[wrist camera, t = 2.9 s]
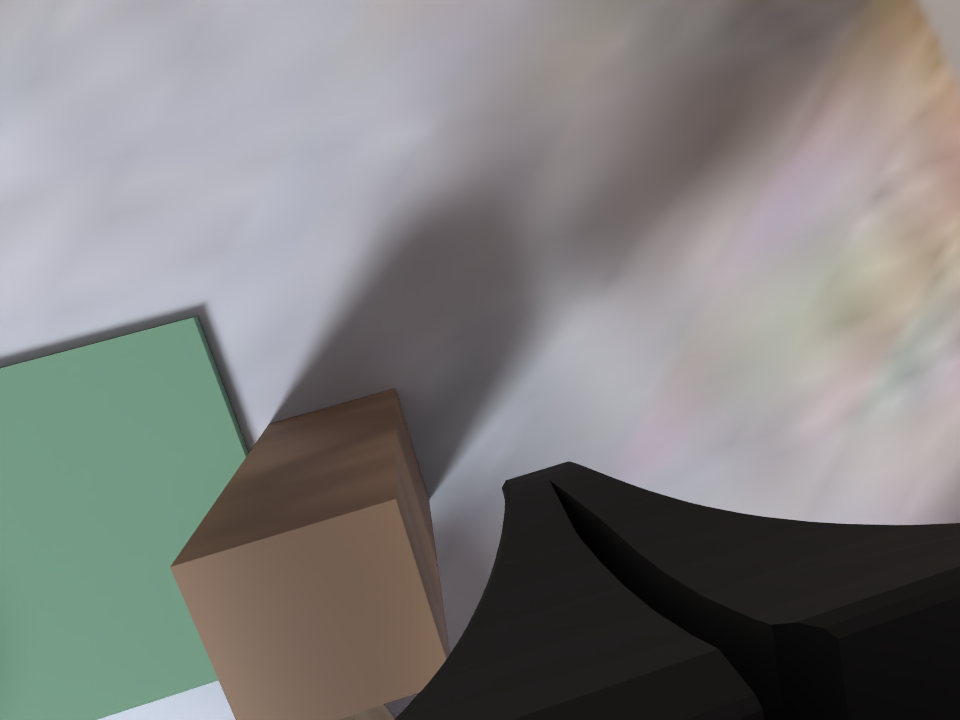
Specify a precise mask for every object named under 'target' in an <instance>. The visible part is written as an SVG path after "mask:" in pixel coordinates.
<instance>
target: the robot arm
mask: <svg viewBox="0 0 960 720" xmlns="http://www.w3.org/2000/svg"><path fill="white" fill-rule="evenodd" d="M502 490H503V494H504V498H505V514H504V521H503V529H502V535H501V540H500V544H499V547H498V551H497V555H496V559H495V563H494V566H493V569H492V572H491V575H490V578H489V581H488V583H487V586H486V588H485V591H484V593H483V595H482V598H481V600H480V602H479V604H478V606H477V608H476V610H475V612H474V614H473V616H472V618H471V620H470V622H469V624H468V626H467V628H466V630H465V631H464V633H463V635H462V637H461V638H460V640H459V641H458V643H457V645H456V646H455V648H454V649H453V650H452V652H451V653H450V655H449V656H448V658H447V659H446V661H445V662H444V663H443V665H442V666H441V667H440V669H439V670H438V671H437V673H436V674H435V675H434V676H433V678H432V679H431V680H430V681H429V683H428V684H427V685H426V686H425V687H424V688H423V690H422V691H421V692H420V693H419V694H418V695H417V696H416V697H415V698H414V699H413V700H412V702H411V703H410V704H409V705H408V706H407V707H406V708H405V709H404V710H403V711H402V712H401V714H400V715H399V716H398V717H397V718H396V719H395V720H960V523H955V524H929V525H863V524H836V523H820V522H807V521H797V520H788V519H779V518H769V517H762V516H755V515H748V514H742V513H736V512H731V511H726V510H721V509H716V508H711V507H706V506H702V505H697V504H693V503H689V502H685V501H682V500H678V499H675V498H671V497H668V496H664V495H661V494H658V493H654V492H651V491H648V490H645V489H642V488H639V487H637V486H634V485H631V484H628V483H625V482H623V481H620V480H617V479H615V478H612V477H609V476H607V475H604V474H602V473H599V472H597V471H594V470H592V469H589V468H587V467H584V466H581V465H579V464H576V463H573V462H565V463H562V464H559V465H555V466H552V467H549V468H546V469H542V470H539V471H536V472H532V473H529V474H526V475H522V476H519V477H516V478H513V479H509V480H506V482H505V483H504V485H503V487H502Z"/></svg>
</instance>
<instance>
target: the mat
mask: <svg viewBox="0 0 960 720" xmlns="http://www.w3.org/2000/svg"><path fill="white" fill-rule="evenodd" d="M248 454H249V453H248V450H247V447H246V445H245V442H244V439H243V437H242V434H241V431H240V429H239V426H238V423H237V421H236V418H235V415H234V413H233V410H232V407H231V405H230V402H229V399H228V397H227V394H226V391H225V389H224V386H223V383H222V381H221V378H220V375H219V373H218V370H217V367H216V365H215V362H214V359H213V357H212V354H211V351H210V349H209V346H208V343H207V341H206V338H205V336H204V333H203V330H202V328H201V325H200V322H199V320H198V317H197V316H196V317H192V318H188V319H184V320H181V321H177V322H173V323H169V324H165V325H162V326H158V327H154V328H150V329H147V330H143V331H139V332H135V333H131V334H128V335H124V336H120V337H116V338H112V339H109V340H105V341H101V342H97V343H94V344H90V345H86V346H82V347H78V348H75V349H71V350H67V351H63V352H59V353H56V354H52V355H48V356H44V357H41V358H37V359H33V360H29V361H25V362H22V363H18V364H14V365H10V366H6V367H3V368H0V720H97V719H100V718H103V717H106V716H109V715H113V714H116V713H119V712H122V711H125V710H128V709H131V708H134V707H137V706H140V705H144V704H147V703H150V702H153V701H156V700H159V699H162V698H165V697H168V696H171V695H174V694H178V693H181V692H184V691H187V690H190V689H193V688H196V687H199V686H202V685H205V684H209V683H212V682H215V681H218V677H217V675H216V673H215V670H214V668H213V666H212V663H211V661H210V659H209V656H208V654H207V652H206V649H205V647H204V645H203V643H202V640H201V638H200V636H199V633H198V631H197V629H196V626H195V624H194V622H193V619H192V617H191V615H190V612H189V610H188V608H187V605H186V603H185V601H184V598H183V596H182V594H181V591H180V589H179V587H178V585H177V582H176V580H175V578H174V575H173V573H172V571H171V568H170V566H171V565H172V563H173V562H174V560H175V559H176V558H177V556H178V555H179V553H180V552H181V550H182V549H183V547H184V546H185V545H186V543H187V542H188V540H189V539H190V537H191V536H192V534H193V533H194V532H195V530H196V529H197V527H198V526H199V524H200V523H201V521H202V520H203V519H204V517H205V516H206V514H207V513H208V511H209V510H210V509H211V507H212V506H213V504H214V503H215V501H216V500H217V498H218V497H219V496H220V494H221V493H222V491H223V490H224V488H225V487H226V485H227V484H228V483H229V481H230V480H231V478H232V477H233V475H234V474H235V473H236V471H237V470H238V468H239V467H240V465H241V464H242V462H243V461H244V460H245V458H246V457H247V455H248Z"/></svg>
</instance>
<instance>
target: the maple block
mask: <svg viewBox="0 0 960 720" xmlns="http://www.w3.org/2000/svg"><path fill="white" fill-rule="evenodd" d="M338 720H395V718H394V717H393V716H392V714H391V713H390V712H389V710H388V709H387V708H386V706H385V705H384V704H383V705H380V706H377V707H374V708H371V709H368V710H365V711H362V712H359V713H356V714H353V715H350V716H347V717H344V718H341V719H338Z"/></svg>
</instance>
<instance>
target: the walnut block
mask: <svg viewBox="0 0 960 720" xmlns="http://www.w3.org/2000/svg"><path fill="white" fill-rule="evenodd" d="M170 568H171V571H172V573H173V575H174V578H175V580H176V582H177V585H178V587H179V589H180V591H181V594H182V596H183V598H184V601H185V603H186V605H187V608H188V610H189V612H190V615H191V617H192V619H193V622H194V624H195V626H196V629H197V631H198V633H199V636H200V638H201V640H202V643H203V645H204V647H205V649H206V652H207V654H208V656H209V659H210V661H211V663H212V666H213V668H214V670H215V673H216V675H217V677H218V680H219V682H220V684H221V687H222V689H223V691H224V694H225V696H226V698H227V700H228V703H229V705H230V707H231V710H232V712H233V714H234V717H235V719H236V720H338V719H341V718H344V717H347V716H350V715H353V714H356V713H359V712H362V711H365V710H368V709H371V708H374V707H377V706H380V705H383V704H386V703H389V702H392V701H395V700H398V699H401V698H404V697H407V696H410V695H413V694H416V693H419V692H421V691H422V690H423V688H424V687H425V686H426V685H427V684H428V683H429V681H430V680H431V679H432V678H433V676H434V675H435V674H436V673H437V671H438V670H439V669H440V667H441V666H442V665H443V663H444V662H445V661H446V659H447V658H448V656H449V655H450V654H449V646H448V639H447V631H446V624H445V616H444V609H443V601H442V594H441V587H440V579H439V572H438V564H437V557H436V549H435V542H434V534H433V527H432V520H431V512H430V505H429V499H428V496H427V493H426V489H425V486H424V483H423V479H422V476H421V473H420V469H419V466H418V463H417V459H416V456H415V453H414V449H413V446H412V443H411V439H410V436H409V433H408V429H407V426H406V423H405V419H404V416H403V413H402V409H401V406H400V403H399V399H398V396H397V393H396V389H391V390H388V391H384V392H380V393H377V394H373V395H370V396H366V397H363V398H359V399H356V400H352V401H349V402H345V403H342V404H338V405H335V406H331V407H328V408H324V409H320V410H317V411H313V412H310V413H306V414H303V415H299V416H296V417H292V418H289V419H285V420H282V421H278V422H275V423H271V424H269V425H268V426H267V428H266V429H265V431H264V432H263V434H262V435H261V436H260V438H259V439H258V441H257V442H256V444H255V445H254V447H253V448H252V449H251V451H250V452H249V454H248V455H247V457H246V458H245V460H244V461H243V462H242V464H241V465H240V467H239V468H238V470H237V471H236V473H235V474H234V475H233V477H232V478H231V480H230V481H229V483H228V484H227V485H226V487H225V488H224V490H223V491H222V493H221V494H220V496H219V497H218V498H217V500H216V501H215V503H214V504H213V506H212V507H211V509H210V510H209V511H208V513H207V514H206V516H205V517H204V519H203V520H202V521H201V523H200V524H199V526H198V527H197V529H196V530H195V532H194V533H193V534H192V536H191V537H190V539H189V540H188V542H187V543H186V545H185V546H184V547H183V549H182V550H181V552H180V553H179V555H178V556H177V558H176V559H175V560H174V562H173V563H172V565H171V566H170Z"/></svg>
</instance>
